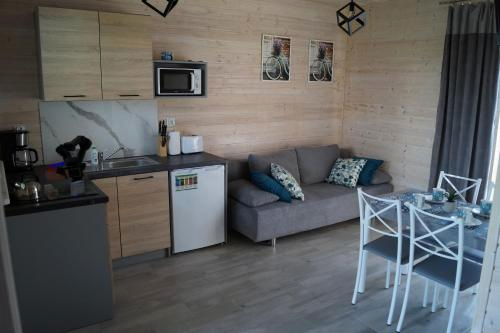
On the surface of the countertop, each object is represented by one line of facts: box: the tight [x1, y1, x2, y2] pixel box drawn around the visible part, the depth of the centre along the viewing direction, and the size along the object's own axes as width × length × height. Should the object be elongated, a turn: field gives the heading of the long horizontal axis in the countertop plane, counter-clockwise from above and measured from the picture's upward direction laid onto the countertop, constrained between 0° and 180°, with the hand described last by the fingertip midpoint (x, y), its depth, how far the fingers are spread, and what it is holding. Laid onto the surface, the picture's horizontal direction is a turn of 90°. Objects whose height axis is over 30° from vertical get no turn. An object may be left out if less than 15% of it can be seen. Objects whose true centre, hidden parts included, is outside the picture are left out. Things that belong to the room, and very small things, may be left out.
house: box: [44, 160, 70, 181], centre depth 321 cm, size 12×20×12 cm, turn 170°
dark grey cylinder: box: [44, 186, 55, 198], centre depth 267 cm, size 5×5×6 cm
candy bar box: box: [69, 148, 80, 157], centre depth 358 cm, size 11×5×16 cm, turn 84°
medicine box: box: [69, 180, 86, 197], centre depth 270 cm, size 8×4×9 cm, turn 158°
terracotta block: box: [44, 183, 53, 195], centre depth 272 cm, size 4×4×6 cm
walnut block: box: [47, 188, 60, 201], centre depth 262 cm, size 5×5×5 cm
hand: (74, 178), depth 272 cm, fingers open, 9 cm apart
